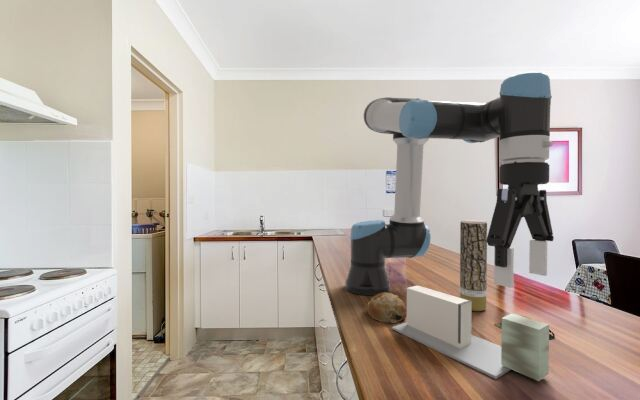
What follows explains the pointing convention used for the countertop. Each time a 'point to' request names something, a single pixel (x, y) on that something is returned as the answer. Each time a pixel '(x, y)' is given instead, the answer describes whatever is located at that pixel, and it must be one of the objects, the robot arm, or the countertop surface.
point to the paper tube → (473, 262)
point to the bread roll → (387, 308)
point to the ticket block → (449, 330)
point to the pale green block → (525, 346)
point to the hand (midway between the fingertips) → (521, 279)
